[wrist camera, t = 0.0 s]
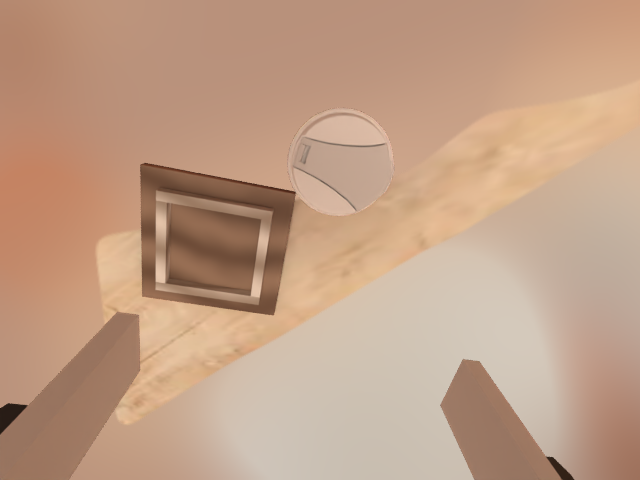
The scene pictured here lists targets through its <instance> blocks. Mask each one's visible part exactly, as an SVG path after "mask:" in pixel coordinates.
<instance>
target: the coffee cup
mask: <svg viewBox="0 0 640 480" xmlns="http://www.w3.org/2000/svg"><path fill="white" fill-rule="evenodd" d="M287 165H288V174H289V178H290V182H291V184H292V187H293V189H294V190H295V192H296V194H297V195H298V196H299V198H300V199H301V200H302V201H303V202H304V203H305V204H306V205H308V206H309V207H311V208H312V209H314V210H315V211H318V212H320V213H323V214H327V215H332V216H346V215H351V214H355V213H357V212H360V211H362V210H364V209H366V208H368V207H369V206H370V205H372V204H373V203H374V202H375V201H376V200H377V199H378V198H379V197H380V196H381V195H382V194H384V193H385V192H386V190H387V189H388V187H389V185H390V183H391V180H392V177H393V173H394V168H395V167H394V160H393V151H392V147H391V143H390V140H389V138H388V136H387V134H386V132H385V131H384V129H383V128H382V126H381V125H380V124H379V123H378V122H377V121H376V120H375V119H373V118H372V117H371V116H369V115H367V114H365V113H364V112H362V111H358V110H355V109H350V108H334V109H329V110H325V111H323V112H320V113H318V114H316V115H315V116H313V117H311V118H310V119H309V120H308V121H306V123H304V124H303V125H302V126H301V128H300V129H299V130H298V131H297V133H296V135H295V136H294V138H293V140H292V143H291V145H290V149H289V154H288V162H287Z"/></svg>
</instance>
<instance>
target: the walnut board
mask: <svg viewBox="0 0 640 480" xmlns="http://www.w3.org/2000/svg"><path fill="white" fill-rule="evenodd" d="M140 166H141V167H140V172H141V240H142V297H149V298H156V299H163V300H170V301H177V302H184V303H191V304H198V305H205V306H212V307H219V308H226V309H233V310H239V311H246V312H253V313H260V314H267V315H274V312H275V306H276V301H277V295H278V289H279V284H280V278H281V273H282V267H283V261H284V256H285V250H286V245H287V239H288V233H289V228H290V222H291V217H292V211H293V205H294V200H295V194H296V192H294V191H289V190H284V189H278V188H273V187H268V186H263V185H257V184H252V183H247V182H242V181H237V180H231V179H226V178H221V177H215V176H211V175H205V174H200V173H194V172H190V171H185V170H179V169H174V168H169V167H164V166H158V165H153V164H148V163H144V164H141V165H140Z"/></svg>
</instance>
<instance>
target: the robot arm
mask: <svg viewBox="0 0 640 480" xmlns="http://www.w3.org/2000/svg"><path fill="white" fill-rule="evenodd" d="M139 371H140V340H139V315H136V314H129V313H121V312H117V313H116V314H115V315H114V316H113V317H112V318H111V319H110V320H109V321H108V322H107V323H106V324H105V326H104V327H103V328H102V329H101V330H100V331H99V332H98V333H97V334H96V335H95V336H94V337H93V338H92V339H91V340H90V341H89V342H88V344H86V346H85V347H84V348H83V349H82V350H81V351H80V352H79V353H78V354H77V355H76V356H75V357H74V358H73V359H72V360H71V361H70V362H69V363H68V364H67V365H66V366H65V367H64V368H63V370H62V371H61V372H60V373H59V374H58V375H57V376H56V377H55V378H54V379H53V380H52V381H51V382H50V383H49V384H48V385H47V386H46V387H45V388H44V390H42V392H41V393H40V394H39V395H38V396H37V397H36V398H35V399H34V400H33V401H32V402H31V403H30V404H29V405H19V404H10V403H8V404H6V405H5V406H3V407H2V408H0V480H69V479H70V477H71V476H72V474H73V473H74V471H75V470H76V468H77V467H78V465H79V463H80V462H81V460H82V459H83V457H84V456H85V454H86V453H87V451H88V450H89V448H90V447H91V445H92V443H93V442H94V440H95V439H96V437H97V436H98V434H99V433H100V431H101V430H102V428H103V427H104V425H105V423H106V422H107V420H108V419H109V417H110V416H111V414H112V413H113V411H114V410H115V408H116V407H117V405H118V403H119V402H120V400H121V399H122V397H123V396H124V394H125V393H126V391H127V390H128V388H129V387H130V385H131V383H132V382H133V380H134V379H135V377H136V376H137V374H138V373H139ZM440 406H441V408H442V410H443V412H444V414H445V416H446V418H447V421H448V423H449V425H450V427H451V429H452V432H453V434H454V436H455V438H456V440H457V443H458V445H459V447H460V449H461V451H462V453H463V456H464V458H465V460H466V462H467V464H468V467H469V469H470V471H471V473H472V475H473V477H474V479H475V480H574V479H573V477H572V476H571V475H570V474H569V473H568V472H567V471H566V470H565V469H564V468H563V467H562V466H561V465H560V464H559V463H558V462H557V461H556V460H555V459H554V458H553V457H546V456H545V455H544V453H543V452H542V450H541V449H540V447H539V446H538V445H537V443H536V442H535V440H534V439H533V437H532V436H531V435H530V433H529V432H528V431H527V429H526V427H525V426H524V425H523V423H522V422H521V420H520V419H519V417H518V416H517V415H516V413H515V412H514V410H513V409H512V407H511V406H510V404H509V403H508V402H507V400H506V399H505V397H504V396H503V394H502V393H501V392H500V390H499V389H498V387H497V386H496V384H495V383H494V382H493V380H492V379H491V377H490V376H489V374H488V373H487V372H486V370H485V369H484V367H483V366H482V365H481V363H480V362H479V361H473V360H465V359H463V360H462V362H461V364H460V366H459V368H458V370H457V373H456V374H455V376H454V379H453V380H452V383H451V385H450V387H449V389H448V391H447V393H446V395H445V397H444V399H443V401H442V403H441V405H440Z"/></svg>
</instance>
